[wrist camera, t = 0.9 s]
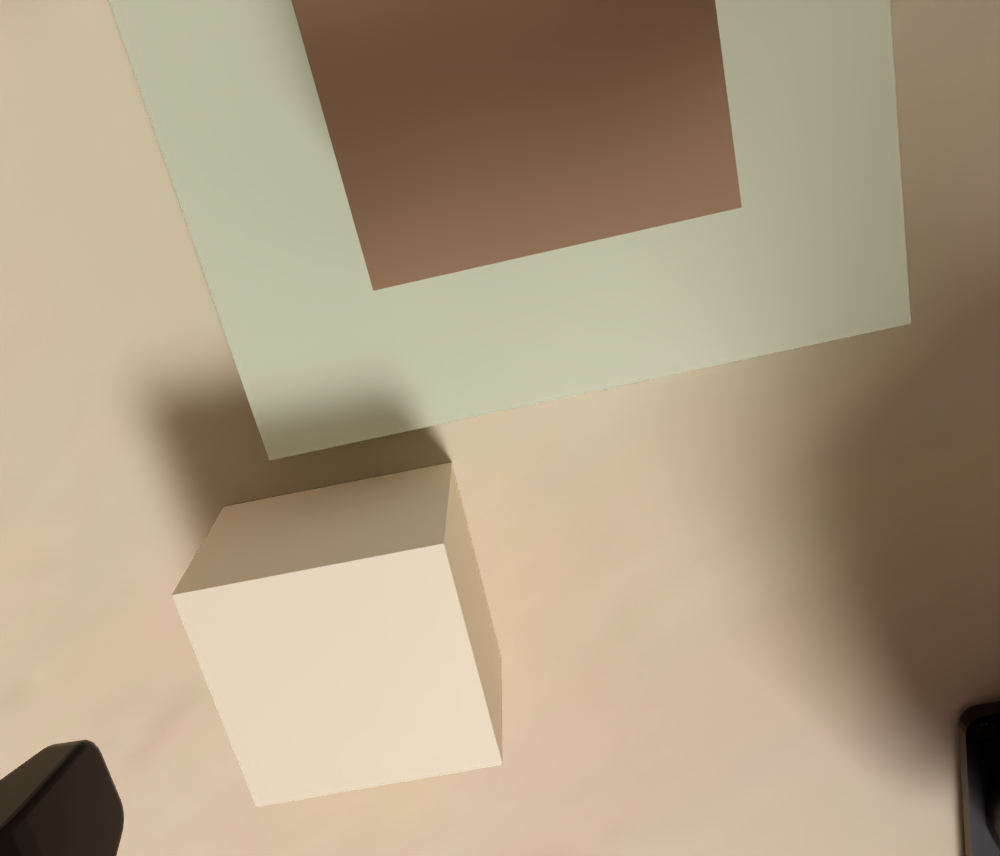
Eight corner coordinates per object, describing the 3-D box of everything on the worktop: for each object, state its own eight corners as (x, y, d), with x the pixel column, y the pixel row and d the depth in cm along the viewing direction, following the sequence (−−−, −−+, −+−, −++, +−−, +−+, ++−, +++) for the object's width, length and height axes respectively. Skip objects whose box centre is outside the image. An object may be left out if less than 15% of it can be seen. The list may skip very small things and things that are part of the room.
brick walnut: (693, 175, 19) (742, 206, 15) (397, 243, 19) (373, 290, 15) (642, -173, 16) (684, -236, 13) (309, -86, 17) (256, -123, 13)
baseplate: (895, 314, 20) (911, 324, 20) (276, 446, 22) (269, 461, 21) (837, -506, 15) (854, -534, 15) (29, -276, 16) (7, -291, 16)
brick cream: (501, 653, 24) (502, 764, 20) (292, 691, 24) (255, 807, 21) (452, 459, 22) (443, 543, 18) (225, 504, 22) (171, 595, 19)
